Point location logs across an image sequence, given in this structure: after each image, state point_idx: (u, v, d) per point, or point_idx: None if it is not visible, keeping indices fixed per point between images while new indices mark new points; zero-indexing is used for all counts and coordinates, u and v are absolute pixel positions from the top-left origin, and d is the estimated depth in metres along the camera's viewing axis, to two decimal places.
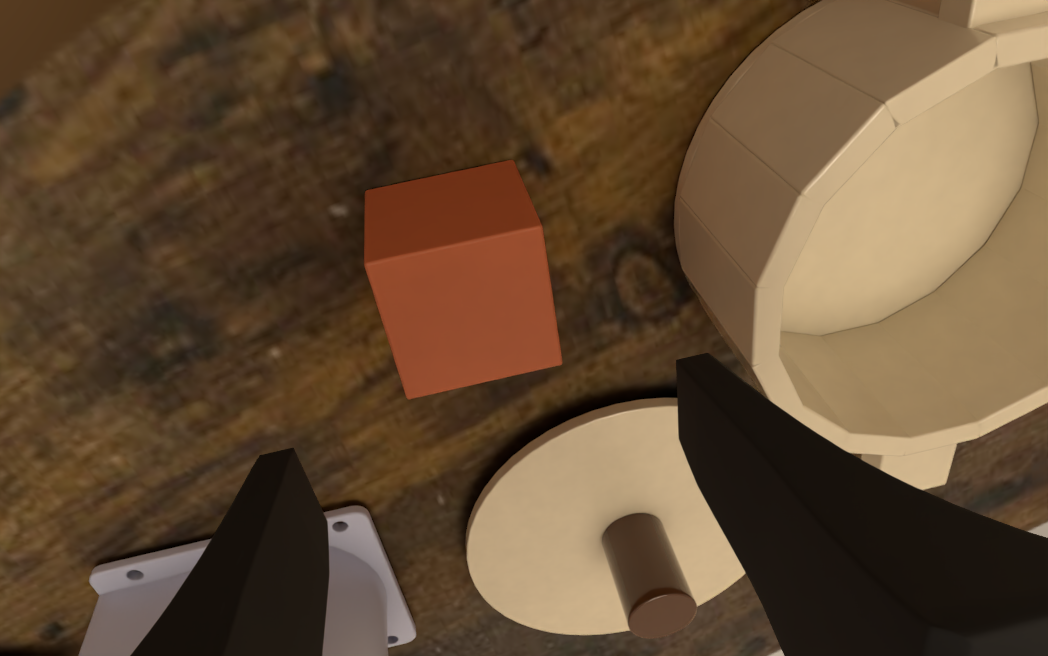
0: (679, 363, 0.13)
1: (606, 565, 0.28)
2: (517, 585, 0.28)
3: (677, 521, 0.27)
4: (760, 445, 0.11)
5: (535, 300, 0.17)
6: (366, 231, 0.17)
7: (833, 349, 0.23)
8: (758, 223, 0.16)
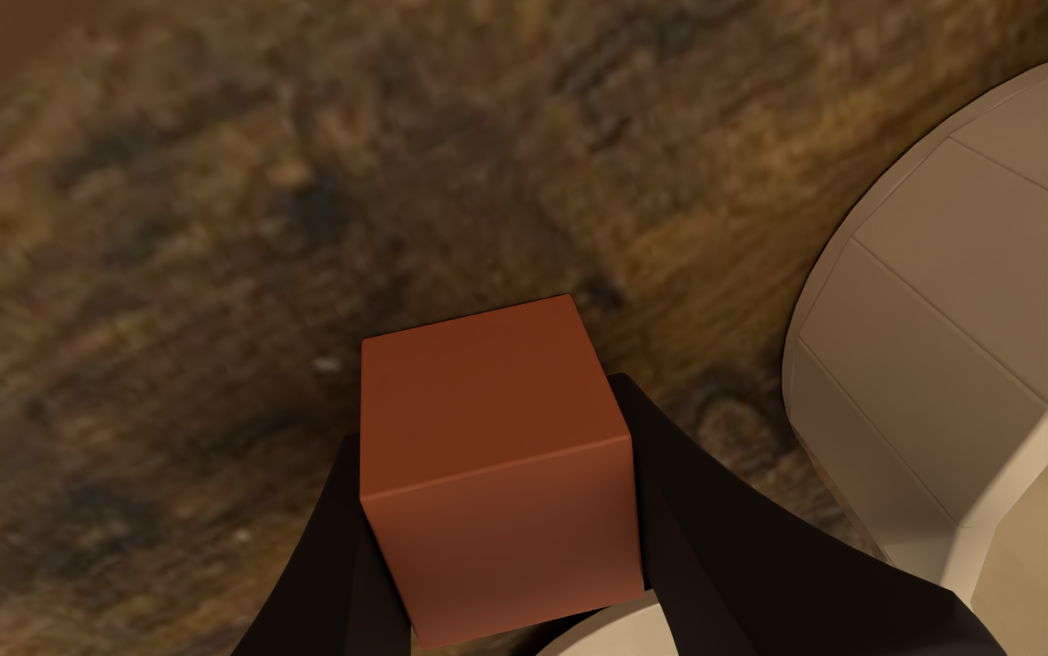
0: None
1: None
2: None
3: None
4: (654, 470, 0.11)
5: (613, 527, 0.12)
6: (363, 426, 0.12)
7: None
8: (959, 427, 0.11)
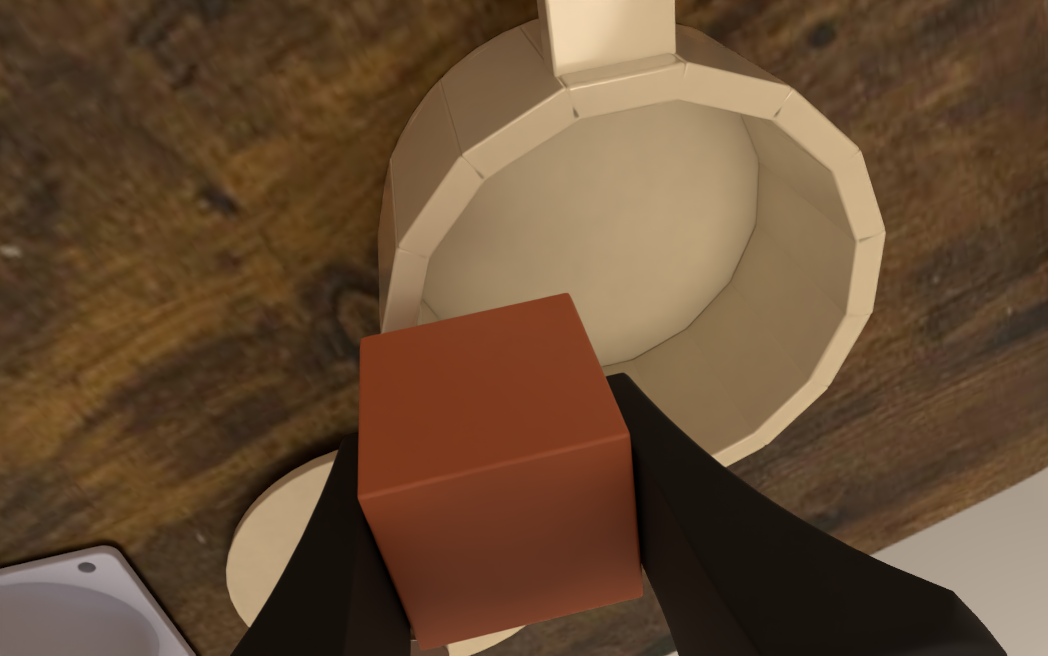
0: None
1: None
2: None
3: None
4: (654, 470, 0.11)
5: (611, 525, 0.12)
6: (361, 424, 0.12)
7: None
8: (386, 273, 0.16)
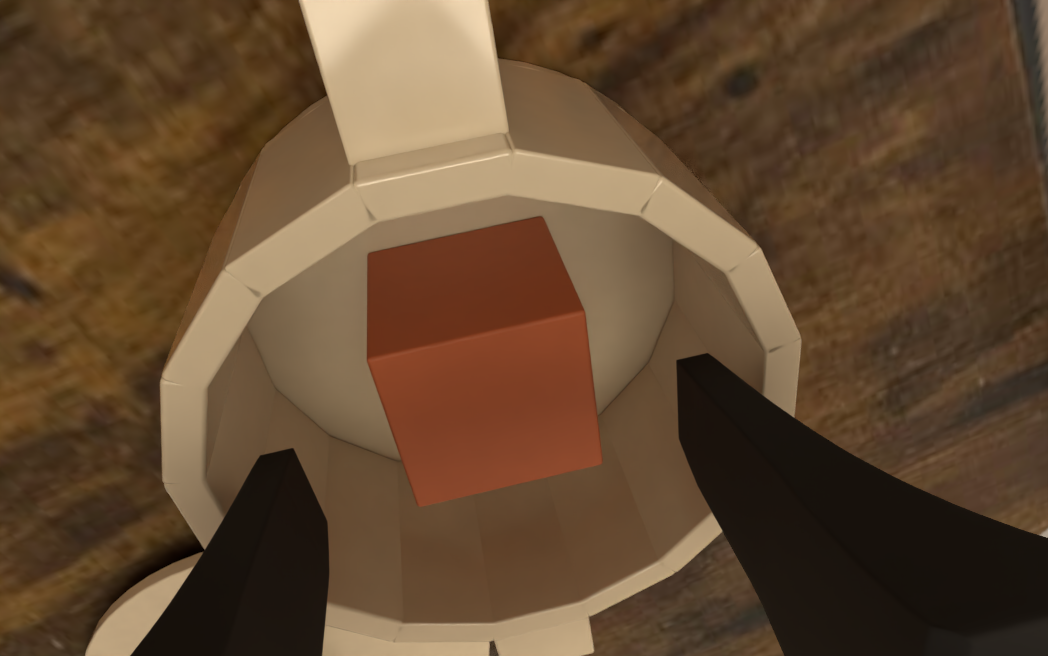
0: (679, 363, 0.13)
1: None
2: None
3: None
4: (760, 445, 0.11)
5: (574, 395, 0.14)
6: (369, 312, 0.14)
7: None
8: None
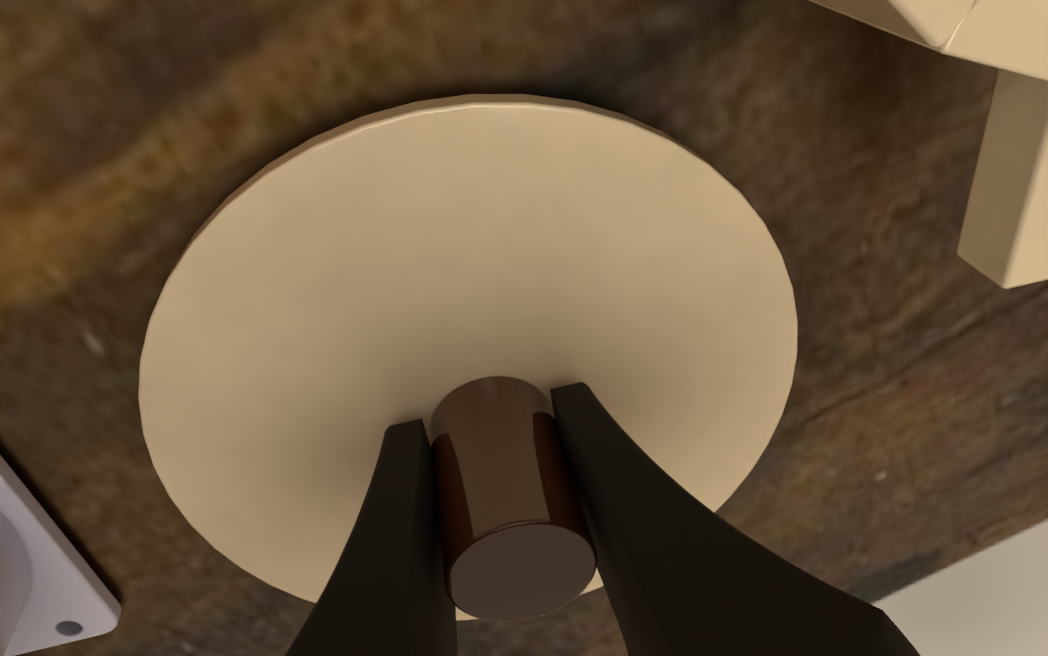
0: (552, 392, 0.13)
1: None
2: (277, 524, 0.15)
3: None
4: (603, 482, 0.10)
5: None
6: None
7: None
8: None
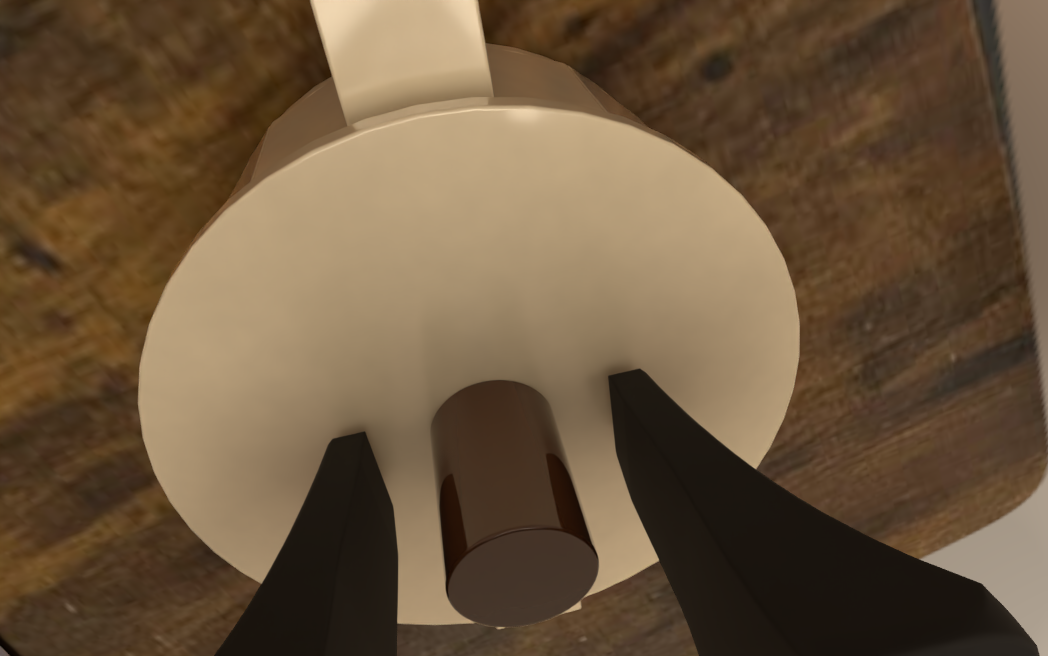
0: (611, 379, 0.13)
1: None
2: (277, 527, 0.15)
3: (580, 402, 0.14)
4: (675, 465, 0.11)
5: None
6: None
7: None
8: None
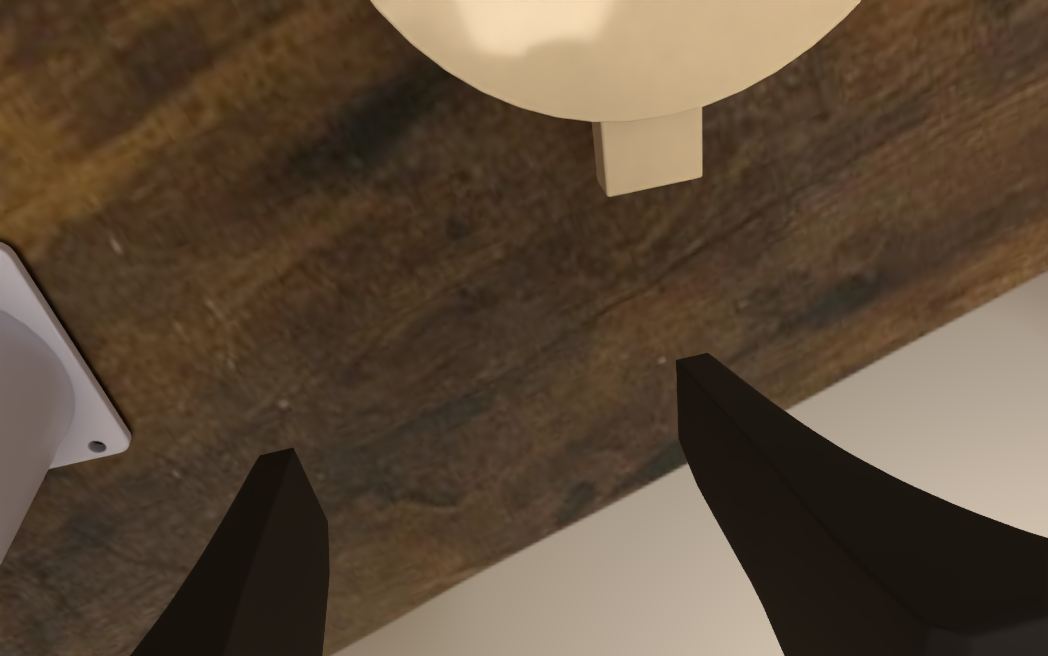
0: (679, 363, 0.13)
1: None
2: None
3: None
4: (760, 445, 0.11)
5: None
6: None
7: None
8: None
